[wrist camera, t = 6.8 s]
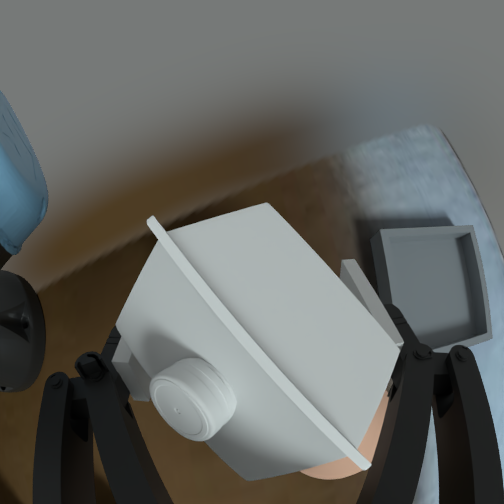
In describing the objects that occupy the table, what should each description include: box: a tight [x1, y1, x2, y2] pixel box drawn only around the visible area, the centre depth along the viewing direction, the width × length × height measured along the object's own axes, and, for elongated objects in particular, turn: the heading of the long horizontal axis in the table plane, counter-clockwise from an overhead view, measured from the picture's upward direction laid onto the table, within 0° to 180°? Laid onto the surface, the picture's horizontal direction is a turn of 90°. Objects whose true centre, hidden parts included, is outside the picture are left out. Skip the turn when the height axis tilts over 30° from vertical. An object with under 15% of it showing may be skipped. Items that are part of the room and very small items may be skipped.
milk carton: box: [116, 203, 400, 481], centre depth 14 cm, size 7×7×19 cm
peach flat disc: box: [301, 390, 389, 479], centre depth 22 cm, size 11×11×1 cm
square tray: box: [370, 225, 492, 353], centre depth 25 cm, size 13×13×3 cm
